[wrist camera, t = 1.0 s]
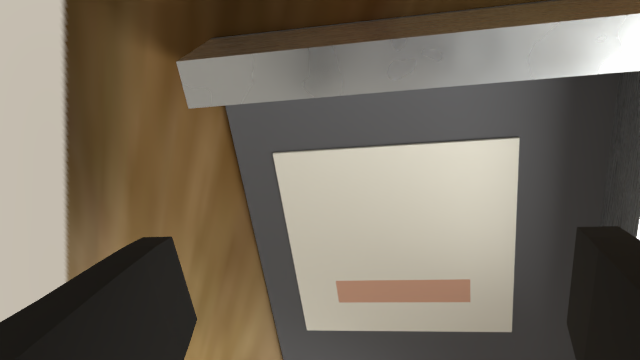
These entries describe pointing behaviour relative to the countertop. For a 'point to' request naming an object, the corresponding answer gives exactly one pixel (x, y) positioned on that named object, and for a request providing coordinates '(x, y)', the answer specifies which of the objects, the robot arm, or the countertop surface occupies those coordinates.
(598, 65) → the arena
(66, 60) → the countertop surface
